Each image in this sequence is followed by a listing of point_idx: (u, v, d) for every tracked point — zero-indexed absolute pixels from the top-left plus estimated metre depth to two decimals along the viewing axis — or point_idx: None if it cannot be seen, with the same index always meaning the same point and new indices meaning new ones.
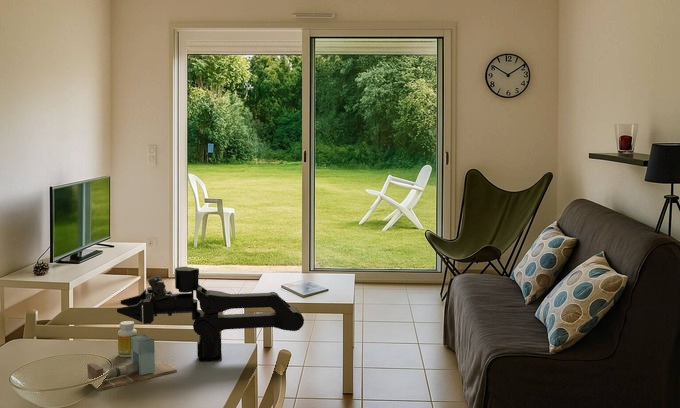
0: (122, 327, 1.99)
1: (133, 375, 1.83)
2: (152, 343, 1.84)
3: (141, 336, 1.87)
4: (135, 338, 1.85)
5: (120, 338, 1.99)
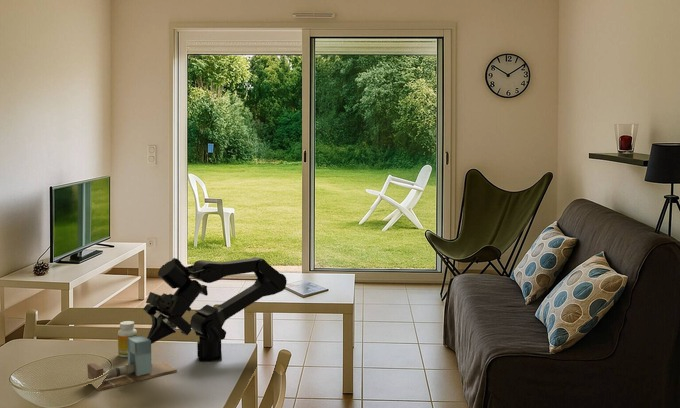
0: (122, 327, 1.99)
1: (133, 375, 1.83)
2: (149, 344, 1.83)
3: (138, 337, 1.86)
4: (132, 339, 1.84)
5: (120, 338, 1.99)
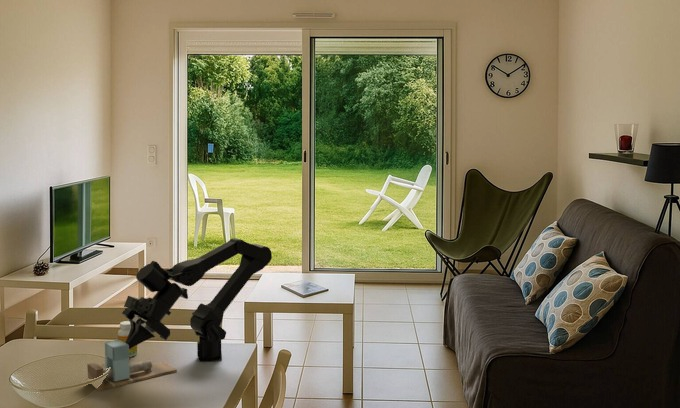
0: (122, 327, 1.99)
1: (133, 375, 1.83)
2: (126, 348, 1.79)
3: (116, 341, 1.82)
4: (109, 343, 1.80)
5: (120, 338, 1.99)
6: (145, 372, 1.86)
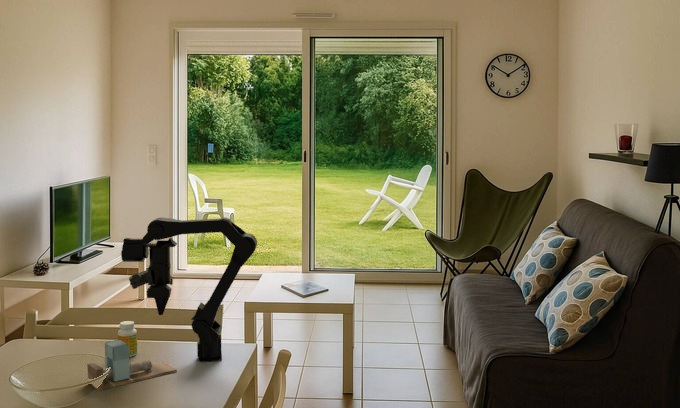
0: (122, 327, 1.99)
1: (133, 375, 1.83)
2: (126, 348, 1.79)
3: (116, 341, 1.82)
4: (109, 343, 1.80)
5: (120, 338, 1.99)
6: (145, 372, 1.86)
